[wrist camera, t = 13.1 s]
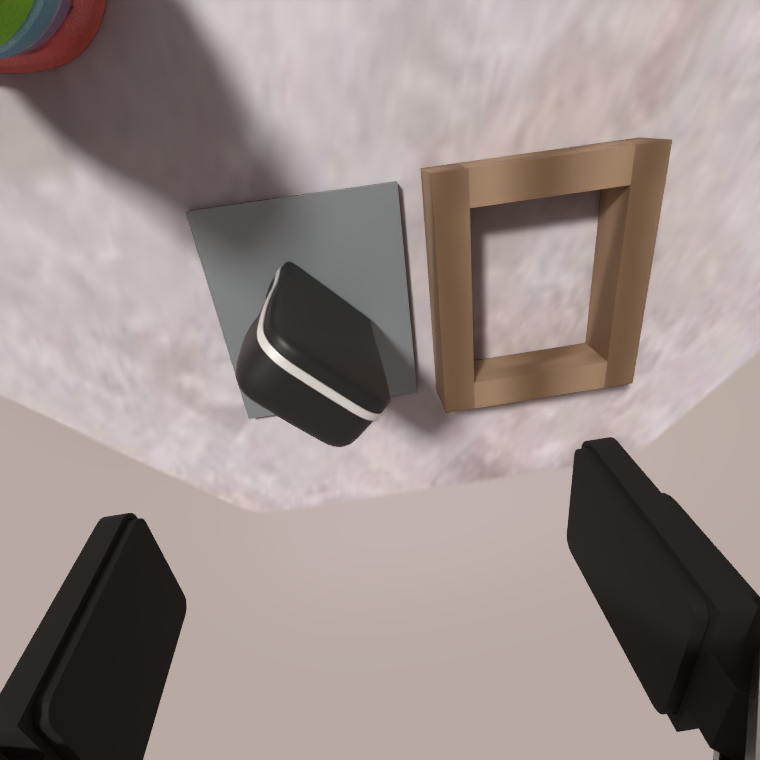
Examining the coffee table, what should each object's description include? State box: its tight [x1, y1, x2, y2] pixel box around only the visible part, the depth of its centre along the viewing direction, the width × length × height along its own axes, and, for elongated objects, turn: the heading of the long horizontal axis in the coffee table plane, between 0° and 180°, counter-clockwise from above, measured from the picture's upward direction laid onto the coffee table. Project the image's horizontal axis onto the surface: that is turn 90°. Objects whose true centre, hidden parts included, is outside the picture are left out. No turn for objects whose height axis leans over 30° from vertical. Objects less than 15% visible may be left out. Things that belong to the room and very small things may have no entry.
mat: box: [186, 181, 417, 419], centre depth 31 cm, size 12×14×1 cm
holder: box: [421, 138, 672, 413], centre depth 30 cm, size 13×15×3 cm
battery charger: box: [236, 261, 390, 447], centre depth 25 cm, size 7×4×11 cm, turn 50°
